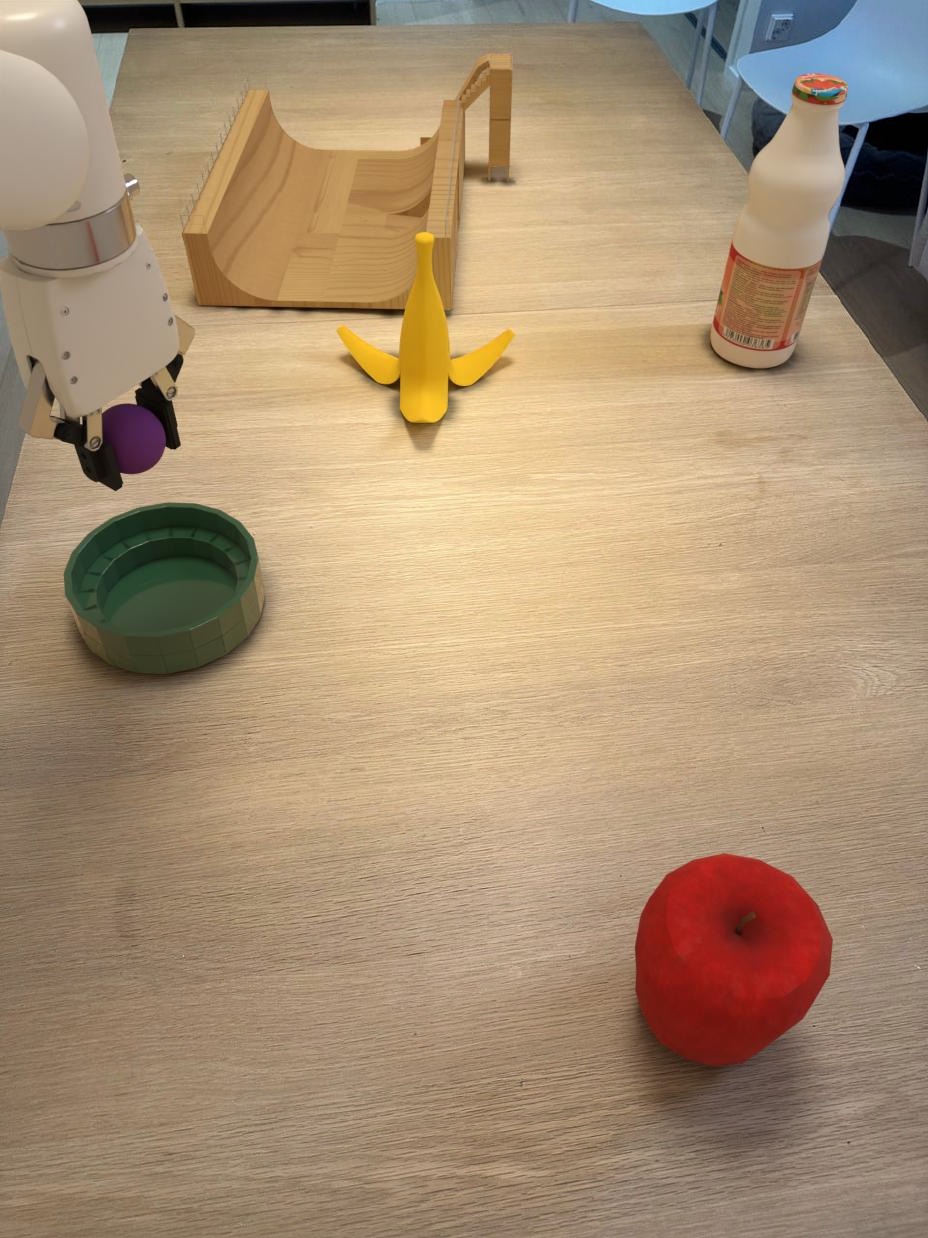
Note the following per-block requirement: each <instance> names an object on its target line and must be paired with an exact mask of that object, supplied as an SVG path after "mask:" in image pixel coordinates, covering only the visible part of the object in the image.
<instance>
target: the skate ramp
mask: <svg viewBox="0 0 928 1238" xmlns="http://www.w3.org/2000/svg"><path fill="white" fill-rule="evenodd" d="M492 40H493V41H494V40H496V41H497V40H504V41H505V40H506V41H511V39H510V38H491V41H492ZM493 48H496V49H497V48H498V49H499V48H501V49H509V52H504V53H503V52H502V53H501V52H492V49H493ZM489 49H490V52H488V53H486V54H484V55H483V56H481V57H479V58H478V60H477V61H476V62H475V63H474V65H473V68H472V69H471V71H470V73H469V75H468V76H467V78H466V79H465V81H464V83H463V84H462V86H461V88H460V90H459V92H458V93H457V95H456V97H455V98H454V99H443V102H442V111H441V117H440V123H439V126H438V128H437V130H436V131H435V133H434V134H433V135H432V136H420V137H419V140H420V141H419V144H420V145H419V146H417V147H414V148H410V149H407V150H406V149H405V150H370V149H369V150H368V149H367V150H366V149H365V150H364V149H320V148H315V147H314V148H313V147H310V146H307V145H304V144H302V143H300V142H299V141H298V140H295V138H293V137H292V136H290V135H289V134H288V133H287V132H286V130H284V128H283V127H282V125H281V124H280V123H279V121H278V119H277V118H276V115H275V113H274V110H273V106H272V101H271V96H270V89H255V88H254V89H253V88H252V89H251V88H248V87H250V86H251V83H262V81H258V80H257V81H253V80H252V81H251V80H249V79H250V77H249V75H250V74H246V77H245V79H244V81H243V83H242V85H241V88H240V89H239V91H238V94H237V96H236V98H235V100H234V103H233V104H232V107H231V109H230V111H229V113H228V115H227V117H226V119H225V121H224V123H223V126H222V127H221V130H220V131H219V134H218V136H217V138H216V140H215V142H214V145H213V146H212V148H211V150H210V152H209V155H208V157H207V159H206V161H205V163H204V166H203V167H202V170H201V172H200V174H199V176H198V178H197V180H196V181H195V184H194V186H193V189H192V191H191V193H190V195H189V197H188V199H187V201H186V203H185V205H184V207H183V209H182V211H181V214H179V218H180V223H181V228H182V232H181V236H182V240H183V244H184V248H185V252H186V257H187V261H188V266H189V271H190V275H191V280H192V285H193V289H194V294H195V298H196V302H197V306H218V307H220V306H221V307H222V306H224V307H225V306H226V307H227V306H228V307H269V308H271V307H272V308H273V307H275V308H277V307H279V308H280V307H282V308H328V309H332V308H334V309H336V308H337V309H338V308H339V309H381V310H383V309H384V310H405V309H406V305H407V301H408V298H409V295H410V292H411V289H412V287H413V284H414V281H415V278H416V273H417V248H416V243H415V236H416V234H418V233H421V232H427V233H430V234H432V235H433V236H434V243H433V248H432V272H433V277H434V281H435V284H436V286H437V289H438V292H439V294H440V297H441V301H442V304H443V308H444V311H452V309H453V298H454V288H455V287H454V285H455V276H456V275H455V274H456V264H457V252H458V242H459V240H458V237H459V227H460V220H461V219H460V218H461V209H462V208H461V207H462V197H463V187H464V186H463V185H464V175H465V161H466V111H467V109H469V107H470V106H471V105H473V104H474V102H475V101H477V99H478V98H479V97H480V96H482V94H484V92H485V91H486V90H487V89H488V88H489V113H488V114H489V116H488V117H489V123H488V182H491V175H492V174H491V173H492V168H506V183H509V182H510V181H509V179H510V164H511V134H512V133H511V131H512V101H513V100H512V99H513V97H512V96H513V69H514V68H513V67H514V66H513V65H514V64H513V63H514V62H513V61H514V53H513V52H511V46H508V47H507V46H503V47H502V46H490V48H489ZM483 71H484V72H483ZM264 75H265V76H264V77H265V78H267V76H266V73H264ZM480 76H481V77H480ZM246 80H247V85H246ZM265 84H266V85H268V83H267V80H265ZM243 86H244V89H245V90H244V91H242V89H243ZM239 95H241V98H240V100H238V97H239ZM236 102H237V103H236ZM240 102H241V104H240ZM235 103H236V104H237V106H236V109H235V108H234V105H235ZM239 105H240V106H239ZM232 111H233V112H232ZM231 112H232V113H233V115H232V117H230V116H231V115H230V114H231ZM236 112H237V113H236ZM233 118H234V119H233ZM228 120H229V121H228ZM232 120H233V121H232ZM227 121H228V122H229V123H228V126H227V125H226V123H227ZM231 122H232V123H231ZM226 126H227V127H226ZM229 127H230V128H229ZM223 129H224V131H225V132H224V135H223V136H222V131H223ZM228 129H229V130H228ZM227 131H228V132H227ZM224 137H225V139H224ZM219 138H220V141H221V142H220V143H219V145H217V141H218V139H219ZM223 140H224V141H223ZM220 146H221V148H220ZM214 148H216V151H215V153H214V155H213V150H214ZM219 148H220V149H219ZM216 154H217V156H216ZM210 156H211V162H210V165H209V164H208V160H209V158H210ZM215 157H216V158H215ZM214 159H215V160H214ZM211 165H212V166H211ZM205 166H206V168H207V171H206V173H205V175H204V173H203V171H204V169H205ZM210 167H211V169H210ZM206 176H207V177H206ZM200 177H201V178H202V181H201V184H200V186H199V184H198V181H199V179H200ZM205 178H206V180H205ZM202 184H203V185H202ZM195 187H197V192H196V194H195V197H194V196H193V192H194V190H195ZM201 187H202V188H201ZM200 189H201V191H200ZM197 196H198V197H197ZM190 198H191V199H192V203H191V205H190V207H189V209H188V202H189V200H190ZM196 198H197V199H196ZM192 206H193V208H192ZM191 208H192V210H191ZM185 209H186V211H187V213H186V214H184V211H185ZM190 211H191V212H190ZM189 212H190V213H189ZM182 216H183V217H184V216H185V218H184V220H183V217H182ZM187 217H188V219H187ZM186 219H187V221H186Z"/></svg>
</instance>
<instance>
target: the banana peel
mask: <svg viewBox="0 0 928 1238" xmlns="http://www.w3.org/2000/svg"><path fill="white" fill-rule="evenodd" d="M415 243H416V248H417V273H416V278H415V281H414V284H413V287H412V289H411V292H410V295H409V298H408V301H407V305H406V309H404V313H403V316H402V317H403V318H402V323H401V328H400V336H399V346H398V347H399V349H398V357H397V356H395V355H392V354H390V353H386V352H385V351H382V350H380V349H379V348H376V347H375V346H373V345H372V344H370V343H369V342H368V341H366V340H364V339H363V338H361V337H360V336H358V335H357V334H356V333H354V332H353V331H352V330H351V329H350V328H349V327H347V326H346V325H344V324H341V325H339V326H338V328H337V329H336V334H337V335H338V337H339V338H340V340H341V341H342V343H343V345H344V346H345V347H346V349H347V350H348V351H349V353H350V354H351V356H352V357H353V359H354V360H355V361H356V362H357V364H358V365H359V366H360V367H361V368H362V369H363V370H364V371H365V372H366V373H367V374H368V375H369V376H370V377H371V378H372V379H373V380H374V381H375V382H376V383H378V384H382V385H391V384H394V383H395V382H397V381H398V380H399V379H400V380H399V381H400V382H399V383H400V387H399V388H400V389H399V390H400V391H399V397H400V398H399V410H400V412H401V414H402V415H403V417H404V418H405V419H406V420H407V421H408V422H410V423H416V424H417V423H422V424H432V423H436V422H438V421H439V420H441V419H442V418H443V417H444V415H445V414H446V412H447V411H448V408H449V406H448V404H449V402H448V401H449V380H450V381H451V382H452V383H453V384H455V385H457V386H460V387H468V386H471V385H473V384H474V383H476V382H477V381H478V380H479V379H481V378H482V377H483V376H484V375H485V374H486V373H487V372H488V371H489V370H490V369H491V368H492V367H493V366H494V364H495V363H497V361H498V360H499V359H500V357H502V355H503V354H504V352H505V351H506V349H507V348H508V347H509V345H510V344H511V342H512V341H513V339H514V337H515V336H516V335H515V332H514V331H512V329H510V328H507V329H506V330H504V331H503V332H502V333H501V334H499V335H498V336H497V337H495V338H493V339H492V340H491V341H489V342H487V343H486V344H483V346H481V347H479V348H477V349H475V350H473V351H471V352H468V353H467V354H464V355H460V356H459V357H456V358H452V359H451V343H450V334H449V328H448V321H447V316H446V312H445V310H444V308H443V304H442V301H441V297H440V294H439V292H438V289H437V286H436V284H435V281H434V277H433V272H432V248H433V243H434V236H433V235H432V234H430V233H427V232H421V233H418V234H416V236H415Z"/></svg>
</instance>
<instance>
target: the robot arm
mask: <svg viewBox="0 0 928 1238" xmlns="http://www.w3.org/2000/svg"><path fill="white" fill-rule="evenodd" d="M109 109H110V108H109V105H108V101H107V97H106V92H105V88H104V83H103V79H102V75H101V70H100V65H99V61H98V56H97V53H96V48H95V44H94V39H93V34H92V31H91V26H90V23H89V20H88V16H87V14H86V12H85V10H84V8H83V7H82V5H81V3H80V2H79V0H0V230H1V232H2V235H3V238H4V241H5V244H6V247H7V251H8V253H7V254H6V255H4V256H3V257H1V258H0V292H1V295H0V296H1V301H2V308H3V313H4V317H5V322H6V327H7V331H8V335H9V339H10V343H11V348H12V351H13V354H14V358H15V361H16V364H17V368H18V371H19V375H20V377H21V380H22V383H23V385H24V388H25V390H26V391H25V395H24V399H23V402H22V405H21V410H20V413H19V416H18V420H17V425H16V426H17V428H18V429H19V430H20V431H21V432H23V433H25V434H27V435H28V436H30V437H32V438H34V439H35V438H36V439H44V440H51V441H52V440H56V441H57V440H58V441H61V442H63V443H67V444H69V445H73V446H74V449H75V453H76V455H77V457H78V458H77V459H78V462H79V464H80V467H81V470H82V472H83V474H84V475H85V476H86V478H87V479H89V480H90V481H92V482H93V483H100V484H102V485H103V486H105V487H107V488H109V489H110V490H112V491H114V492H117V491H119V490H120V489H122V488H123V485H124V481H123V478H122V473H120V470H119V467H118V464H117V460H116V457H115V453H114V450H113V447H112V445H111V444H110V443H109V442H107V441H105V440H104V439H102V413H103V407H104V406H106V405H107V404H110V403H111V402H112V401H114V400H115V399H117V398H119V397H121V396H122V395H124V394H125V393H127V392H129V391H130V390H131V389H133V388H135V387H136V386H137V385H139V387H138V388H137V389H135V390H134V394H135V395H134V399H135V404H136V405H140V406H142V407H144V408H146V409H148V410H149V411H151V412H152V413H153V414H154V415H155V416H156V417H157V418H158V419H159V421H160V422H161V424H162V426H163V428H164V431H165V437H166V446H165V448H167V449H169V450H174V451H175V450H177V449H179V448H180V447H181V446H182V442H181V438H180V434H179V430H178V425H179V424H178V420H177V416H176V412H175V408H174V403H173V400H174V399H176V397H177V395H178V392H179V389H178V386H177V385H176V382H177V380H178V377H179V375H180V373H181V370H182V367H183V365H184V361H185V360H184V356H185V355H186V354H187V353H188V350H189V348H190V346H191V345H192V342H193V340H194V339H195V336H196V329H195V328H194V327H193V326H192V325H190V324H189V323H188V322H186V321H184V320H183V319H181V317H179V316H177V315H176V314H175V311H174V307H173V303H172V299H171V297H170V293H169V289H168V286H167V284H166V283H167V282H166V281H165V277H164V275H163V271H162V269H161V266H160V263H159V260H158V258H157V256H156V254H155V252H154V249H153V247H152V244H151V242H150V240H149V238H148V235H146V233H145V230H144V228H143V227H142V225H141V224H140V223H138V222H137V221H136V220H135V217H134V214H133V209H132V208H133V207H132V203H131V201H132V199H133V198H134V197H135V196H137V195H139V194H140V192H141V188H140V187H141V186H140V184H139V182H138V180H137V179H136V177H135V176H134V175H133V174H131V173H129V172H126V173H124V171H123V166H122V162H121V158H120V152H119V149H118V144H117V139H116V136H115V132H114V131H115V130H114V127H113V123H112V119H111V113H110V110H109ZM55 399H56V401H57V403H58V404H59V417H58V416H56V415H51V412H52V410H53V406H54V403H55Z"/></svg>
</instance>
